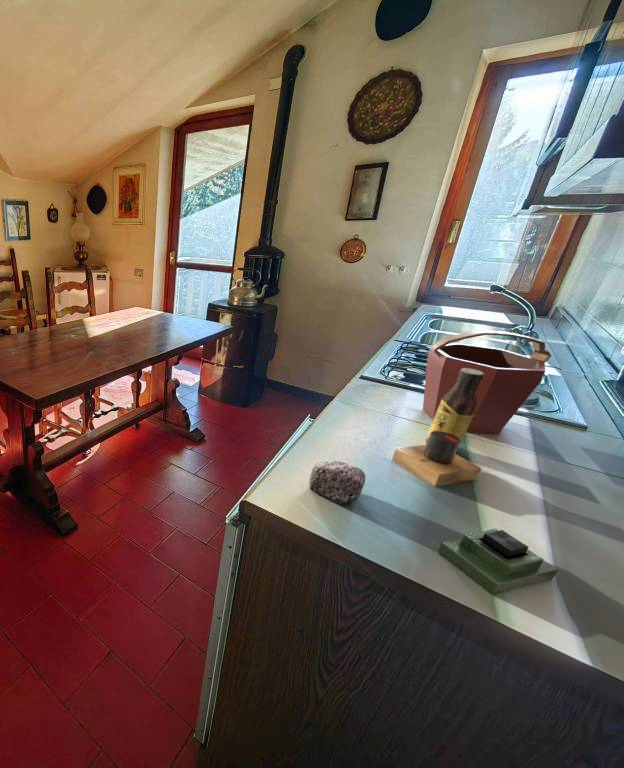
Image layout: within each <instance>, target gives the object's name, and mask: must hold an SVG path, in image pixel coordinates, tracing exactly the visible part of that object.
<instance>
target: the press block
mask: <svg viewBox="0 0 624 768" xmlns="http://www.w3.org/2000/svg"><path fill="white" fill-rule="evenodd" d="M494 531H499V529H497V528H491V529H486V530H480V531H475V532H470V533H466V534H463V537H462V538H458V539H453V540H448V541H444V542H441V544H440V547H439V548H438V551H437V554H439V555H440V556H441V557H443V558H444V559H445V560H446V561H448V562H449V563H450V564H451V565H452V566H454V567H455V568H456V569H457V570H459V571H460V572H461V573H463V574H464V575H466V576H467V577H468V578H469V579H471V580H472V581H473V582H475V584H477V585H478V586H479V587H481V588H482V589H483V590H484V591H486V592H487V593H488V594H489V595H491V596H492V595H497V594H501V593H505V592H508V591H513V590H517V589H521V588H525V587H529V586H533V585H538V584H541V583H546V582H549V581H553V579H554V578H555V576H556V574H557V573H558V571H559V569H558V568H557V567H556V566H554V565H552V564H551V563H549V562H547V561H546V560H545V559H544V558H543V557H541V556H539V555H537V554H536V553H534V552H533V551H532V550H530V549H529V548H528V549H527V551H526V553H525V555H524V556H520V557H515V558H511V559H506V558H505V557H503V556H502V555H501V554H499V553H498V552H496V551H495V550H493V549H492V548H490V547H489V546H487V545H486V544H485V543H483V542H482V541H481V540H482V538H483V536H484V534H485V533H489V532H494Z"/></svg>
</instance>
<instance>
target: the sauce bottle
mask: <svg viewBox="0 0 624 768" xmlns="http://www.w3.org/2000/svg"><path fill="white" fill-rule="evenodd" d="M483 377H484V373H483V372H481V371H478V370H474V369H469V368H463V369H461V370H460V372H459V377H458V379H457V382H456V384H455V386H454V387H453V388H452V389H451V390H450V391H449V392H448V393H447V394H446V395H445V396H444V397H443V398H442V400H441V403H440V405H439V407H438V410H437V412H436V415H435V417H434V420H432V422H431V424H430V426H429V427H430V428H429V429H428V432H427V434H426V439H425V443H426V444H427V441H428V438H429V436H430V433H431V432H432V431H441V432H446V433H449V434H452V435H454V436H456V437H458V438H459V439H460V441H461V442H460V444H459V446H458V448H459V447H460V446H461V443H462V441H463V439H464V437H465V435H466V433H467V432H466V430H467V428H468V426H469V423H470V421H471V419H472V417H473V415H474V411H475V409H476V406H477V404H478V399H477V396H476V394H475V392H476V391H477V387H478V385H479V383H480V381H481V380H482V379H483Z"/></svg>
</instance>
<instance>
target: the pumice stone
mask: <svg viewBox="0 0 624 768" xmlns="http://www.w3.org/2000/svg"><path fill="white" fill-rule="evenodd" d="M308 482H309V483H308V484H309V489H310V490H311V491H312V492H313V493H315V494H316V495H318V496H319V497H322V498H324V499H326V500H329V501H330V502H332V503H334V504H337V505H341V504H345V503H348V502H349V503H353V502H356V501H357V500H358V499H359V497H360V496H361V494H362V490H363V489H364V486H365V483H366V473H365V472H364V471H363V469H361V468H359V467H357V466H356V467H355V466H353V465H350V464H348V463H347V462H344V461H340V460H339V461H338V460H330V461H318V462H317V463H315V464H314V465H313V467H312V469H311V471H310V476H309V480H308Z"/></svg>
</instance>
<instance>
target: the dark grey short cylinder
mask: <svg viewBox="0 0 624 768" xmlns="http://www.w3.org/2000/svg"><path fill="white" fill-rule="evenodd" d="M460 442H461V443H462V441H460V439H459V438H458V437H456V436H454V435H452V434H449V433H446V432H441V431H432V432H431V433H430V436H429V438H428V441H427V443H426V444H425V445H426V446H425V449H424V451H423V455H424V456H425V457H426V458H427V459H429V460H431V461H434V462H437V463H441V464H450V463H452V461H453V458H454V456H455V454H456V453H457V451H458V448H459V447H460V445H461V443H460ZM459 444H460V445H459ZM458 446H459V447H458ZM456 455H457V454H456Z"/></svg>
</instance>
